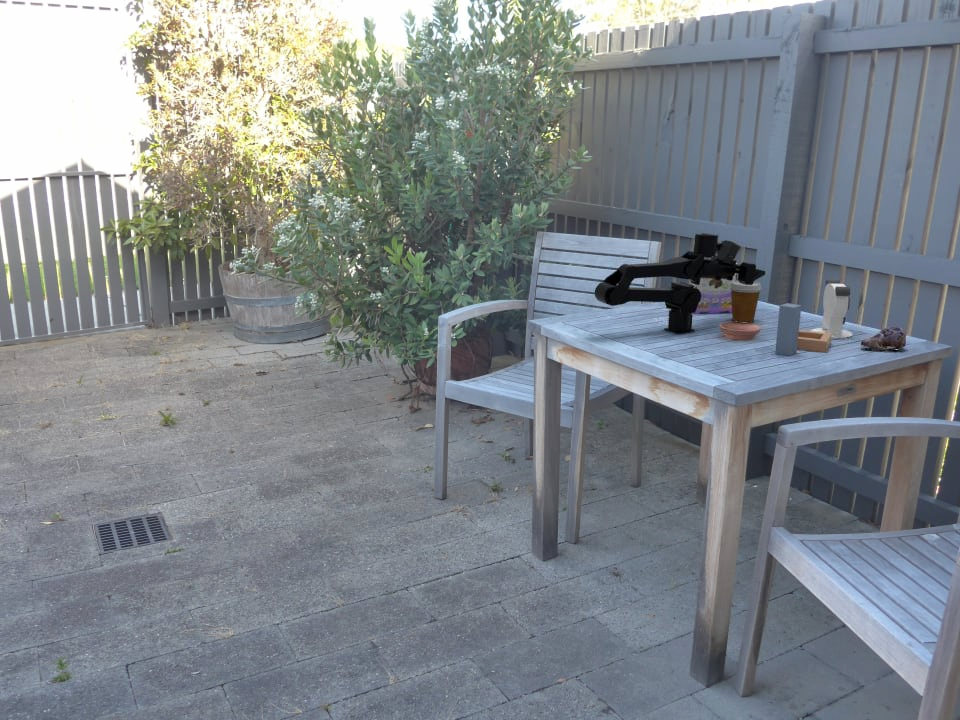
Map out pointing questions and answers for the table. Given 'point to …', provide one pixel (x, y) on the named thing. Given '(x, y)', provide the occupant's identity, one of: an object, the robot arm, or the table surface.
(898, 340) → the skull
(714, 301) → the candy box
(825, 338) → the frame
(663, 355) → the table surface
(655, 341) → the table surface
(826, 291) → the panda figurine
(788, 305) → the post
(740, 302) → the disposable coffee cup
